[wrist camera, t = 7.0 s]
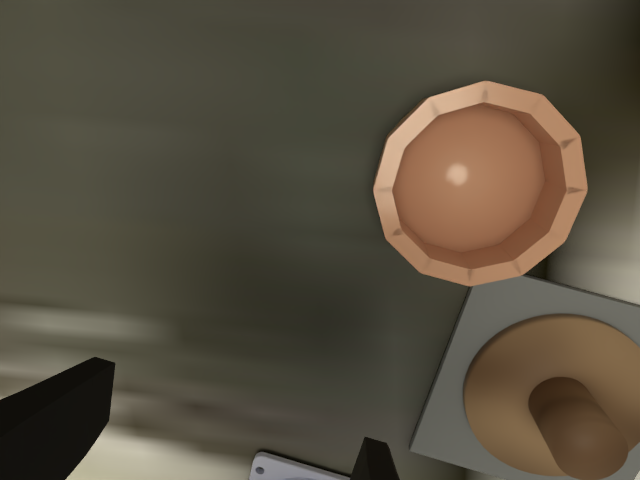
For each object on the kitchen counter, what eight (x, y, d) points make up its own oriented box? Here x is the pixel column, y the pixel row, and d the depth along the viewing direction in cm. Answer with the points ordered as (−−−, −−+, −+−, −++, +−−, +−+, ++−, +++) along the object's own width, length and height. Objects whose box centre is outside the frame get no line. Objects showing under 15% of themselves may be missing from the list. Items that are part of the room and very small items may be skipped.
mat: (610, 505, 23) (614, 511, 23) (409, 445, 24) (409, 451, 23) (716, 326, 20) (723, 330, 20) (479, 262, 21) (481, 264, 20)
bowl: (514, 278, 21) (537, 305, 18) (357, 235, 21) (354, 255, 18) (582, 113, 18) (620, 114, 15) (404, 69, 19) (409, 61, 16)
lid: (610, 482, 22) (657, 555, 19) (443, 443, 23) (456, 507, 19) (680, 335, 20) (750, 387, 16) (490, 296, 21) (516, 336, 17)
